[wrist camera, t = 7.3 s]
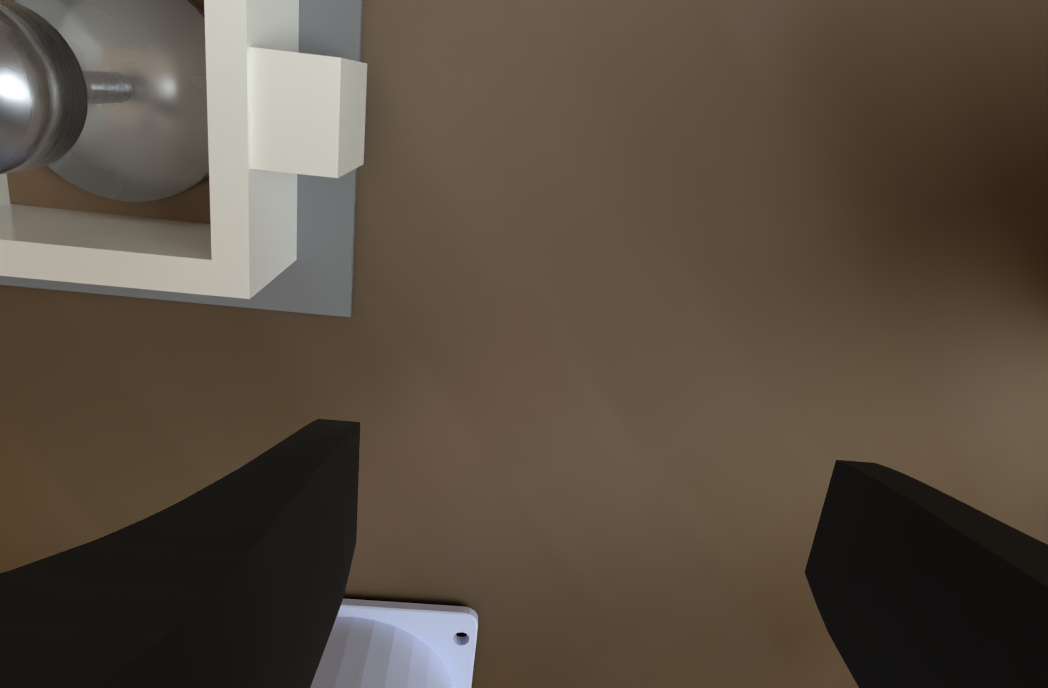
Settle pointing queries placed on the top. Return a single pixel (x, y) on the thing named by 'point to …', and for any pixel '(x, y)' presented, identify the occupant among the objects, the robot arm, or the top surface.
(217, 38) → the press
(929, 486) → the robot arm
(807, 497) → the top surface
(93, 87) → the plunger
